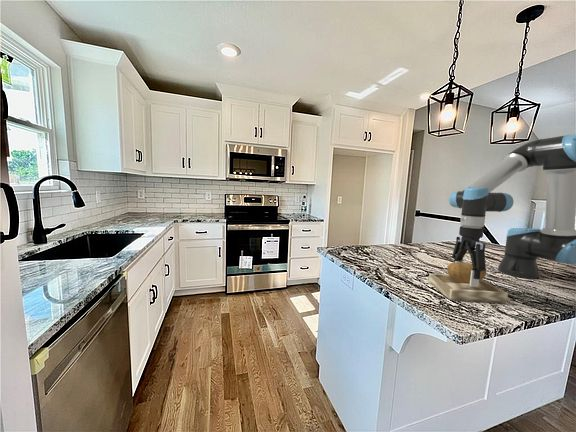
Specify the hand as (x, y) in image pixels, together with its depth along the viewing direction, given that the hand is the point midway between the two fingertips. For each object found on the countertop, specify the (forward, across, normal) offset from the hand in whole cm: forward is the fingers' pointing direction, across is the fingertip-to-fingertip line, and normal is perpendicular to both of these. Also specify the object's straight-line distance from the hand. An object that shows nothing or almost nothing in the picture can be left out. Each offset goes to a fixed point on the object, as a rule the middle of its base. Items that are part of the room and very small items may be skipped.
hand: (465, 281), depth 98 cm
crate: (+5, 0, 0) cm, 5 cm away
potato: (+1, 0, 0) cm, 1 cm away
